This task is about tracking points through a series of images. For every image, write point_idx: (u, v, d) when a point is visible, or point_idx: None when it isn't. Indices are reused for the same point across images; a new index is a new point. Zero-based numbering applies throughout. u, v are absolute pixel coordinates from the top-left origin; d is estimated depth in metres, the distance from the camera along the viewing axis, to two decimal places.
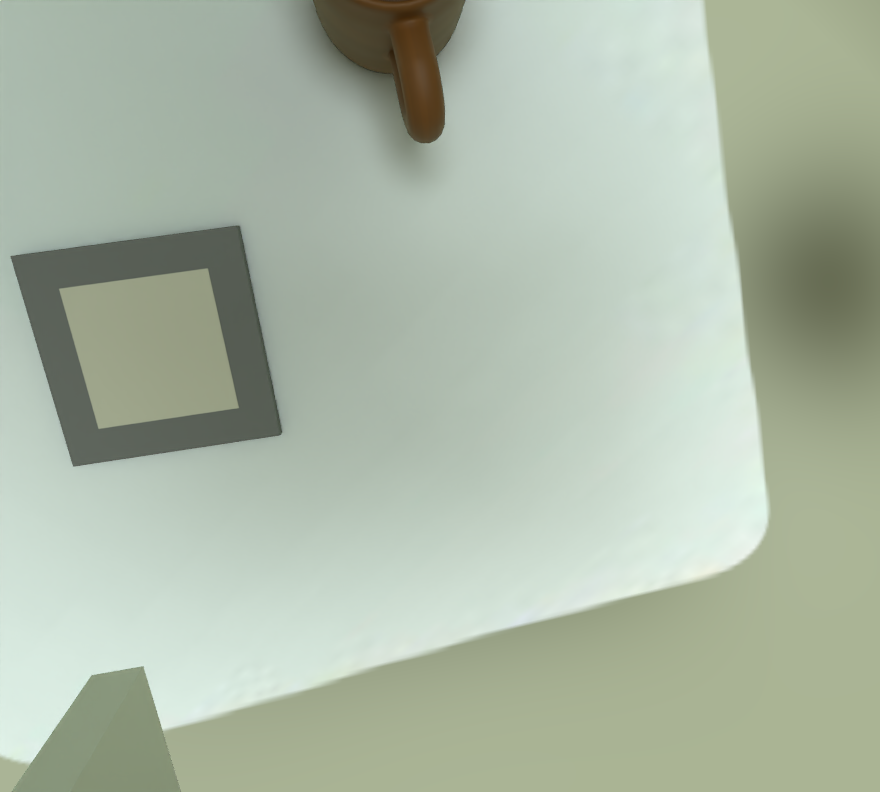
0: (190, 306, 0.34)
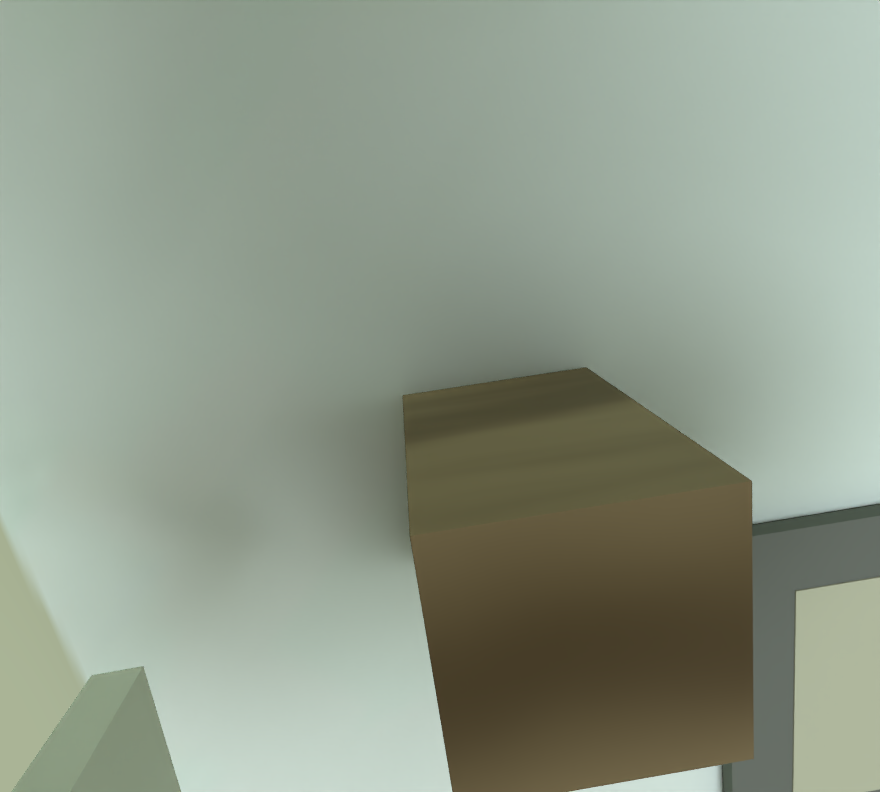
0: None
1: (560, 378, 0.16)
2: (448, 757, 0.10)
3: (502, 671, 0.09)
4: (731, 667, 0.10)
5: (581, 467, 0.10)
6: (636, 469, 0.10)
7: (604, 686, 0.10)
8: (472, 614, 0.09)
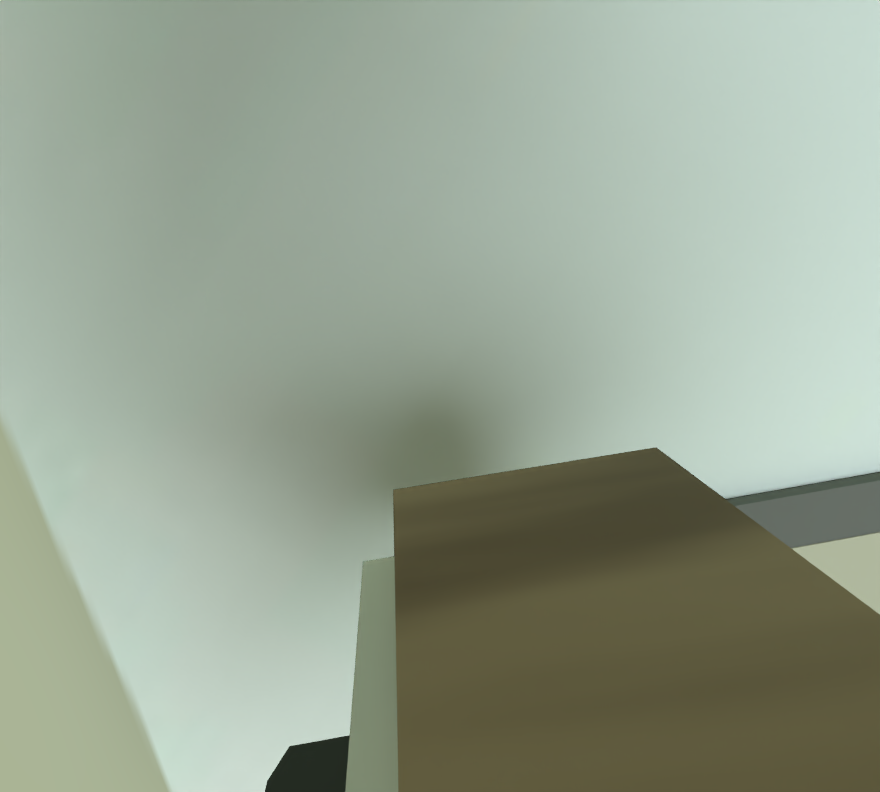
0: None
1: (624, 468, 0.11)
2: None
3: None
4: None
5: (743, 731, 0.05)
6: (867, 756, 0.05)
7: None
8: None
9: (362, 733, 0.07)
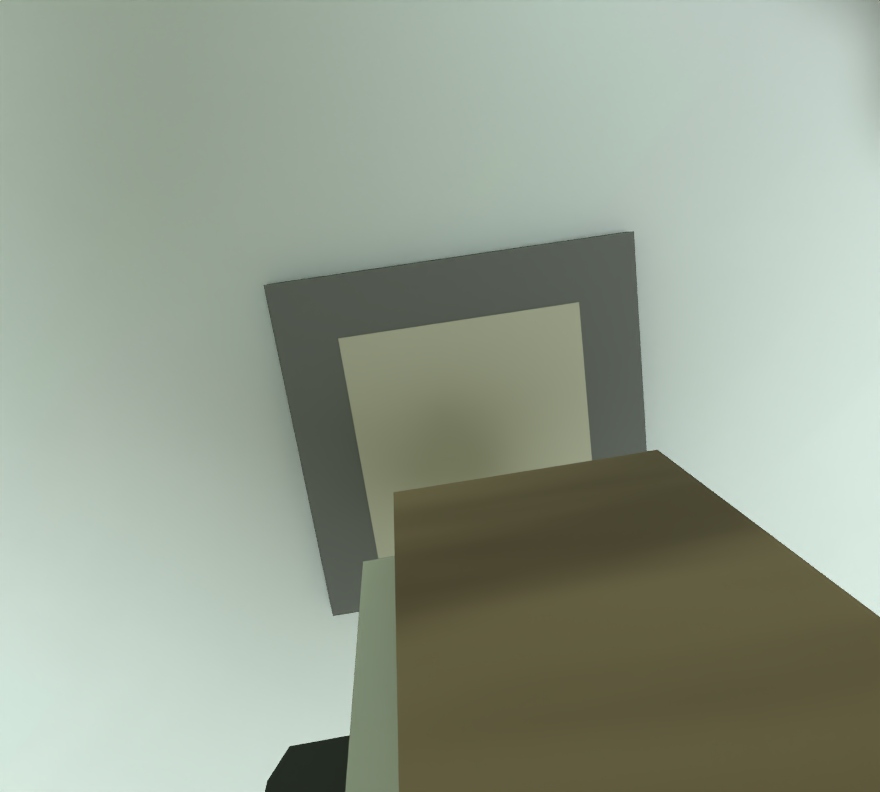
0: (543, 364, 0.21)
1: (625, 471, 0.11)
2: None
3: None
4: None
5: (747, 741, 0.05)
6: (874, 765, 0.05)
7: None
8: None
9: (362, 733, 0.07)
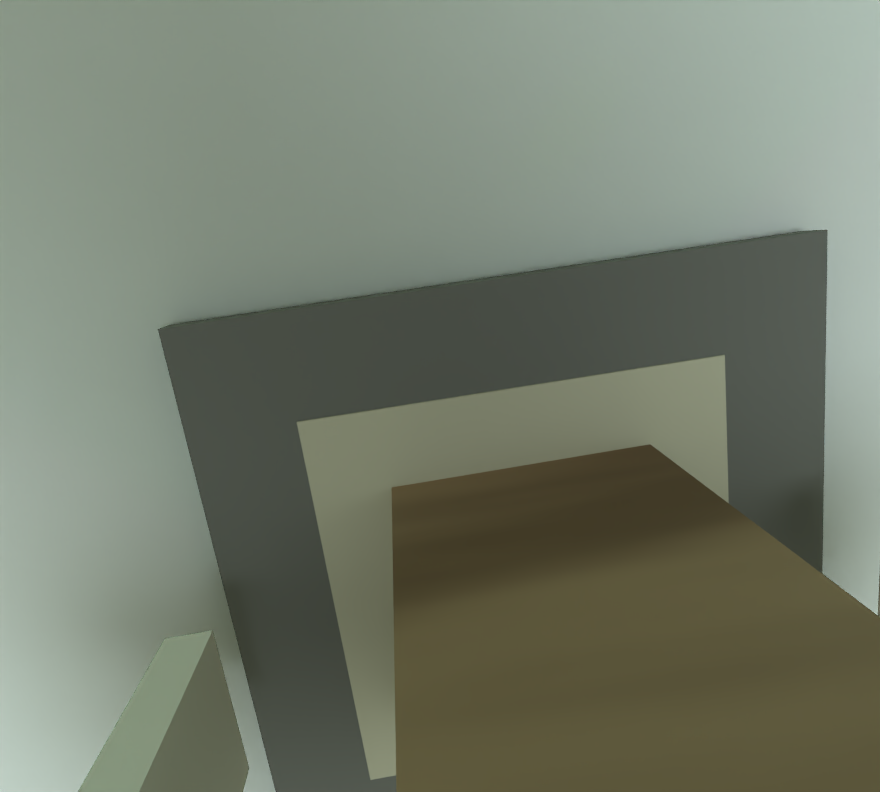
0: None
1: (618, 465, 0.11)
2: None
3: None
4: None
5: (728, 719, 0.05)
6: (849, 740, 0.05)
7: None
8: None
9: None
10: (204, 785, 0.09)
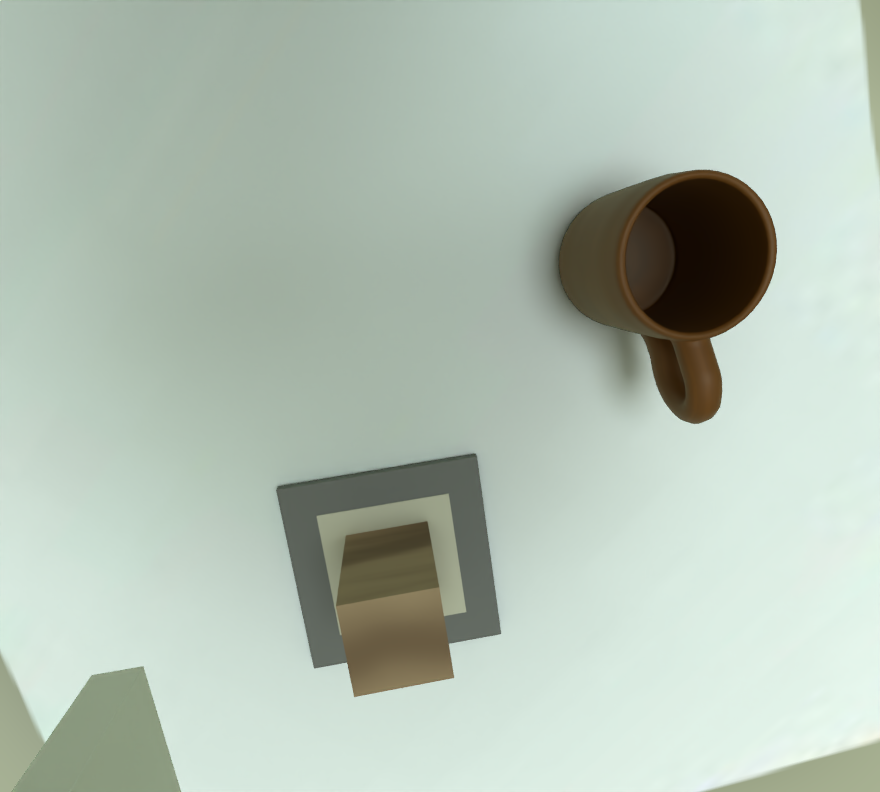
0: (430, 526, 0.37)
1: (413, 528, 0.37)
2: (350, 677, 0.30)
3: (366, 648, 0.30)
4: (441, 645, 0.30)
5: (395, 580, 0.31)
6: (411, 581, 0.30)
7: (400, 652, 0.30)
8: (356, 630, 0.30)
9: None
10: None
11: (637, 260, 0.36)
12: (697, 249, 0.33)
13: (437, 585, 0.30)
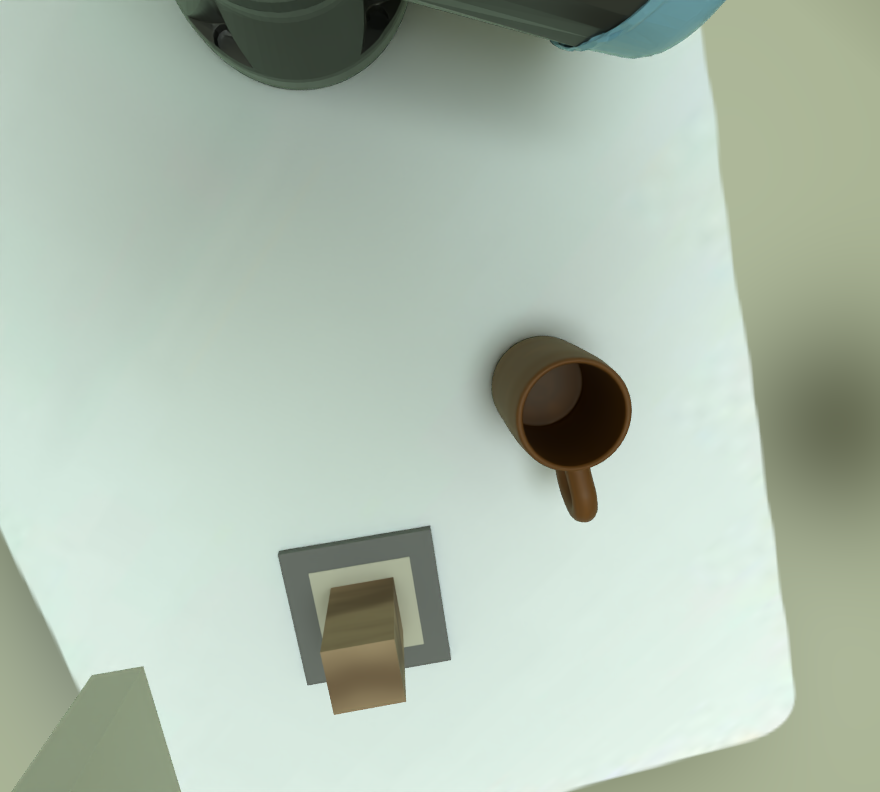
0: (395, 581, 0.49)
1: (382, 584, 0.48)
2: (331, 701, 0.42)
3: (342, 681, 0.42)
4: (396, 679, 0.42)
5: (364, 631, 0.43)
6: (375, 633, 0.42)
7: (366, 684, 0.42)
8: (334, 668, 0.41)
9: None
10: None
11: (553, 384, 0.47)
12: (593, 383, 0.44)
13: (393, 637, 0.41)
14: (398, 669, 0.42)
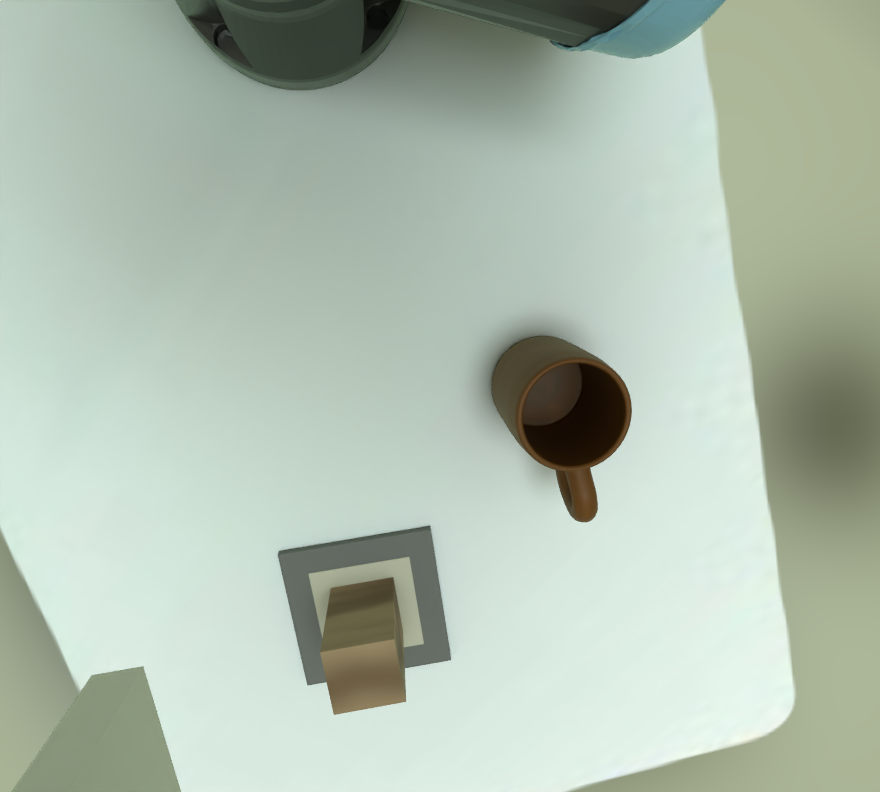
0: (395, 581, 0.49)
1: (382, 584, 0.48)
2: (331, 701, 0.42)
3: (342, 681, 0.42)
4: (396, 679, 0.42)
5: (364, 631, 0.43)
6: (375, 633, 0.42)
7: (366, 684, 0.42)
8: (334, 668, 0.41)
9: None
10: None
11: (553, 384, 0.47)
12: (593, 383, 0.44)
13: (393, 637, 0.41)
14: (398, 669, 0.42)
